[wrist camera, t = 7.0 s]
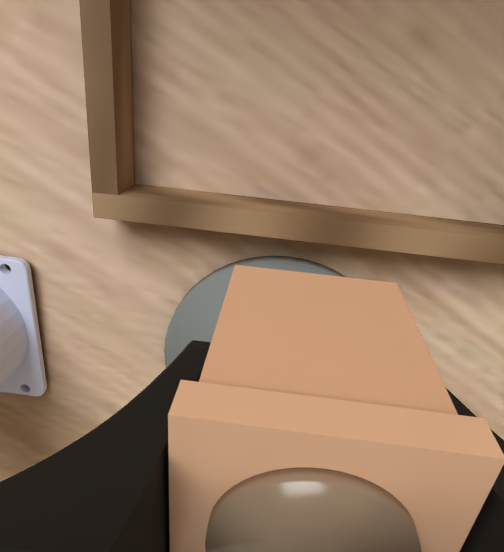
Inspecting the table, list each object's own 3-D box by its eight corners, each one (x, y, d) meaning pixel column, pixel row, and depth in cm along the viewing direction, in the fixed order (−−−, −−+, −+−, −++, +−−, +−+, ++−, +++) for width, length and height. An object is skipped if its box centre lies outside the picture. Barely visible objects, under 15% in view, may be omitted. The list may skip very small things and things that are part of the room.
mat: (166, 426, 24) (163, 434, 23) (168, 242, 19) (165, 247, 19) (362, 451, 23) (364, 460, 23) (413, 271, 19) (416, 276, 18)
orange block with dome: (218, 393, 14) (166, 612, 8) (226, 255, 12) (162, 430, 6) (370, 412, 14) (422, 652, 8) (408, 276, 11) (516, 477, 6)
